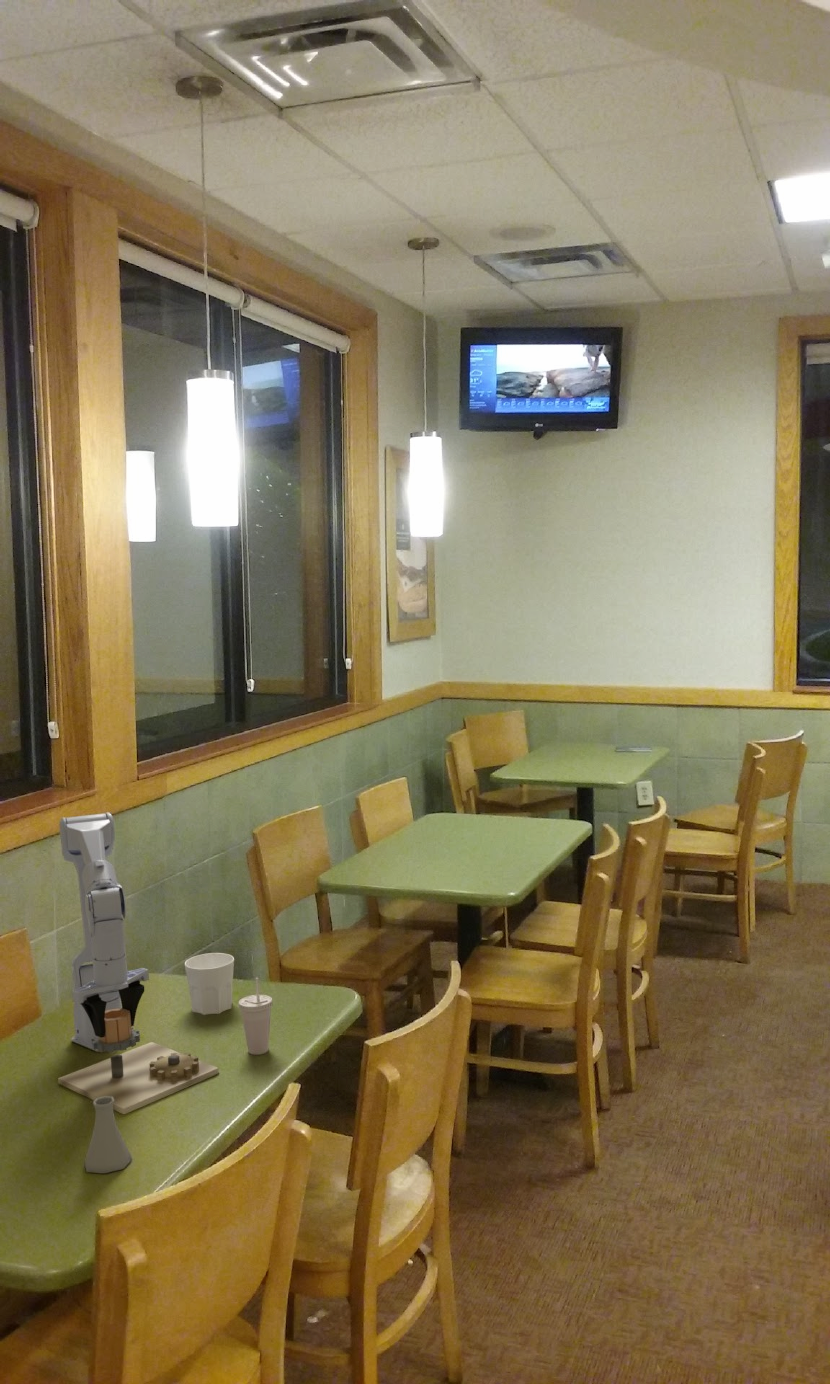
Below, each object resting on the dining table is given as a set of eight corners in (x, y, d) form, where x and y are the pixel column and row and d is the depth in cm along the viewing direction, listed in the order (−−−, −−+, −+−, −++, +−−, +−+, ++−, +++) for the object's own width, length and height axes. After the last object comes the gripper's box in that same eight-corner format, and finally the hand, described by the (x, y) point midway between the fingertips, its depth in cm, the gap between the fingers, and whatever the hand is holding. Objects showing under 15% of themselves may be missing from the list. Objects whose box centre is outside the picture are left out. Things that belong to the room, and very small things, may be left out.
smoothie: (269, 1058, 218) (264, 984, 216) (236, 1057, 219) (231, 983, 217) (280, 1044, 224) (275, 972, 222) (247, 1043, 225) (243, 971, 224)
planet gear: (82, 1045, 209) (80, 1017, 209) (122, 1029, 215) (120, 1002, 215) (109, 1056, 204) (106, 1027, 203) (149, 1040, 210) (146, 1012, 209)
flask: (88, 1154, 184) (84, 1092, 183) (135, 1150, 185) (131, 1088, 184) (79, 1177, 177) (74, 1113, 176) (128, 1173, 178) (124, 1109, 177)
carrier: (58, 1083, 211) (56, 1059, 210) (152, 1047, 225) (150, 1024, 225) (123, 1114, 197) (122, 1088, 197) (218, 1073, 212) (217, 1049, 211)
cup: (189, 1000, 249) (186, 955, 248) (237, 997, 250) (234, 951, 249) (186, 1018, 239) (182, 971, 238) (235, 1014, 240) (232, 967, 239)
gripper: (85, 972, 200) (91, 1049, 201) (157, 949, 211) (162, 1022, 212) (63, 964, 205) (68, 1039, 206) (133, 942, 215) (138, 1014, 217)
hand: (114, 1030), depth 209 cm, fingers closed on planet gear, 5 cm apart
